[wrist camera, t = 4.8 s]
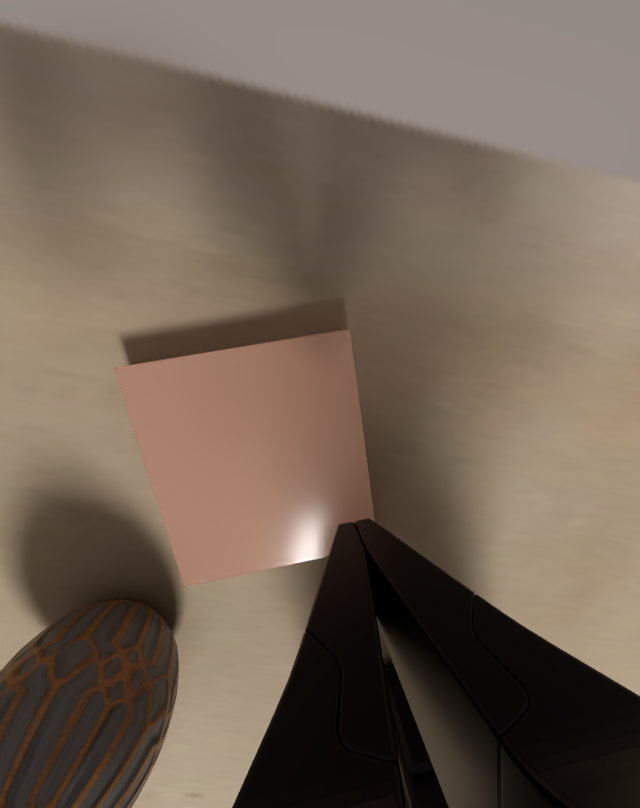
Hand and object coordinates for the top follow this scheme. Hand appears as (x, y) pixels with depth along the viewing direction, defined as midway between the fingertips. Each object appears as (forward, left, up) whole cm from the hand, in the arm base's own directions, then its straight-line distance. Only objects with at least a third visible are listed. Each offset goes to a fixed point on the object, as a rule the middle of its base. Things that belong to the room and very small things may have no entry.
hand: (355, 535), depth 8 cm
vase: (-8, +12, -7) cm, 16 cm away
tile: (0, -2, -6) cm, 6 cm away
